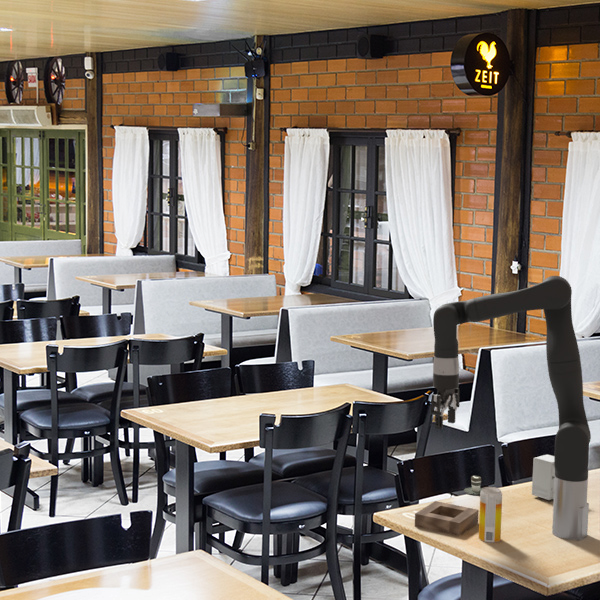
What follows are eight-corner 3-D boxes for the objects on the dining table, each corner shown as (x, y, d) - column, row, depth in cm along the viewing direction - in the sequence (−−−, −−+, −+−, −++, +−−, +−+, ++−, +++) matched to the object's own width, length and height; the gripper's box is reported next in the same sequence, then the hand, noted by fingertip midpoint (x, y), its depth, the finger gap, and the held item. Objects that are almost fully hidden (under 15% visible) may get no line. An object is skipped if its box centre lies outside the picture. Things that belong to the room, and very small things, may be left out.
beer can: (499, 537, 277) (501, 486, 275) (501, 545, 271) (503, 493, 269) (477, 536, 277) (479, 485, 276) (479, 544, 271) (481, 492, 270)
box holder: (478, 524, 288) (478, 509, 287) (459, 538, 276) (459, 523, 275) (434, 515, 295) (435, 501, 295) (414, 528, 283) (415, 513, 283)
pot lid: (484, 499, 312) (484, 484, 311) (450, 492, 319) (451, 477, 319) (500, 490, 322) (500, 475, 321) (467, 483, 329) (468, 469, 328)
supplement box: (549, 500, 311) (551, 462, 309) (531, 494, 316) (532, 457, 315) (563, 496, 315) (565, 458, 314) (544, 490, 321) (546, 453, 319)
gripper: (447, 376, 277) (446, 432, 279) (467, 369, 289) (467, 422, 291) (423, 374, 282) (422, 428, 283) (445, 366, 293) (444, 419, 295)
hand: (445, 425), depth 287 cm, fingers open, 8 cm apart
